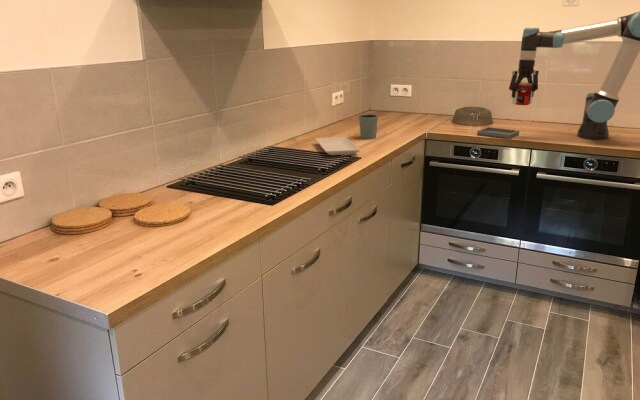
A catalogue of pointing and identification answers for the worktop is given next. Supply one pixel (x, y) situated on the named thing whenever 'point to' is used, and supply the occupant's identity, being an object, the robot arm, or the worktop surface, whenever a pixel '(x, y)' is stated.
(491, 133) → the tray
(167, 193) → the worktop surface
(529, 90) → the canned food
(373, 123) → the grey green cup
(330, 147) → the tray
